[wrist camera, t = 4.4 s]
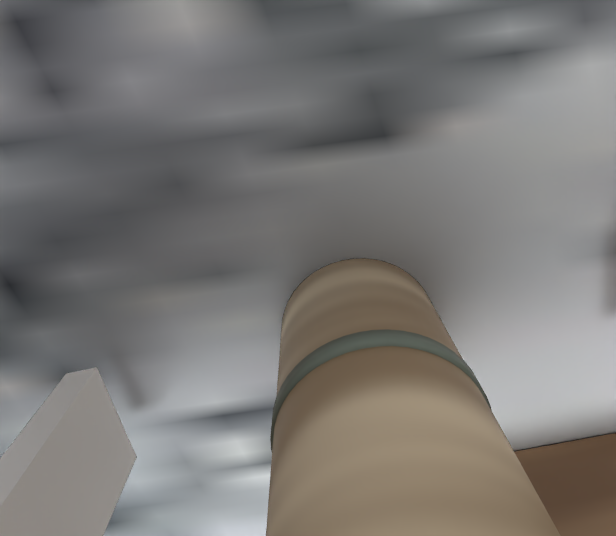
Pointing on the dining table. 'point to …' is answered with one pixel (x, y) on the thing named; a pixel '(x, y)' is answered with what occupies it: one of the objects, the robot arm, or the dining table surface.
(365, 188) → the dining table surface
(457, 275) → the dining table surface
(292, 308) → the beech dowel
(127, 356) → the dining table surface
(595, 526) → the wooden block with hole
